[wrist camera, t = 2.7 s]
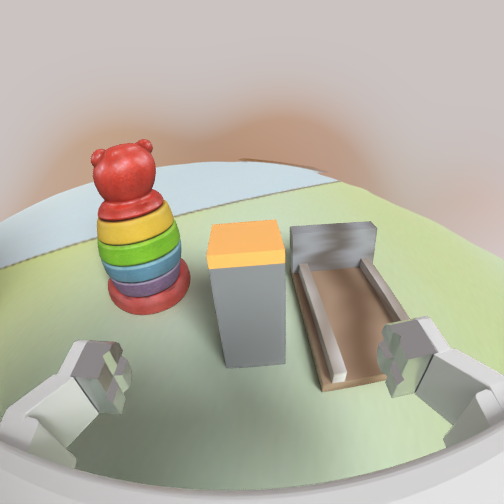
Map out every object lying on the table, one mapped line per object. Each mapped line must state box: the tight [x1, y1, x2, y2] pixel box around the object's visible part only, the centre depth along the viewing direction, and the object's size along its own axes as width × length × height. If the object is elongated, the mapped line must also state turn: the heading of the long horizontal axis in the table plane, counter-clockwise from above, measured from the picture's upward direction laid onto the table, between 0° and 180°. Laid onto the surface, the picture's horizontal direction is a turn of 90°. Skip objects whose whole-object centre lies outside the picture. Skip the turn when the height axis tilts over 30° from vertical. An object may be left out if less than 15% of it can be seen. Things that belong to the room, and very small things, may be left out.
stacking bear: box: [91, 139, 190, 315], centre depth 31 cm, size 11×10×18 cm
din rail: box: [290, 221, 410, 392], centre depth 28 cm, size 10×18×6 cm, turn 3°
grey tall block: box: [207, 220, 286, 368], centre depth 24 cm, size 5×5×11 cm
